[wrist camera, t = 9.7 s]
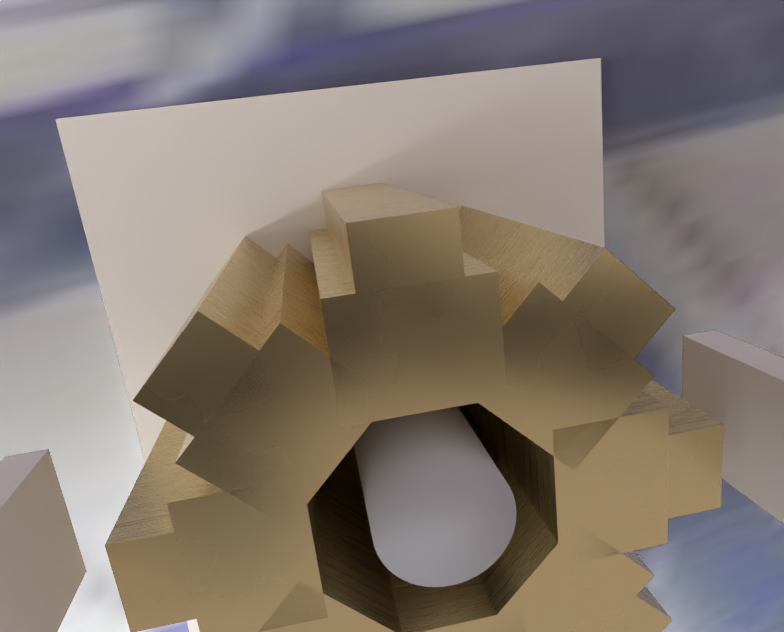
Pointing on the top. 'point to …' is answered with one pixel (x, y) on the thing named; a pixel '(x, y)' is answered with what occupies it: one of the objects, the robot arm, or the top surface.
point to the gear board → (306, 212)
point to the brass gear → (401, 398)
